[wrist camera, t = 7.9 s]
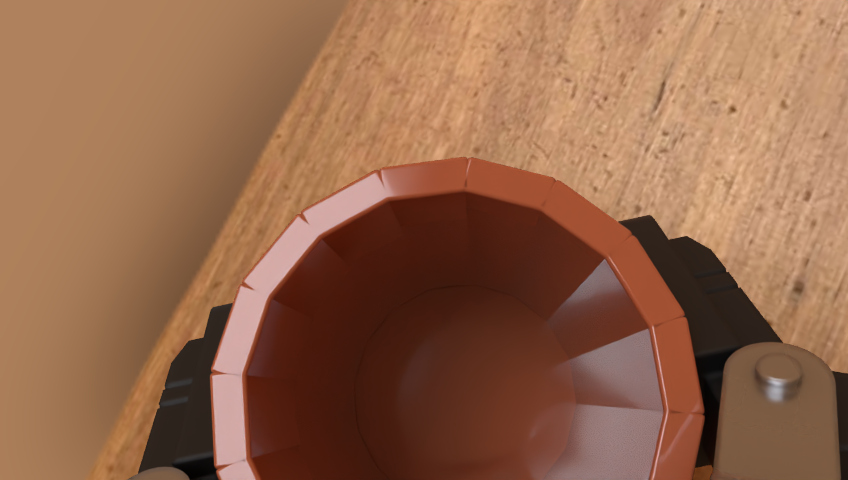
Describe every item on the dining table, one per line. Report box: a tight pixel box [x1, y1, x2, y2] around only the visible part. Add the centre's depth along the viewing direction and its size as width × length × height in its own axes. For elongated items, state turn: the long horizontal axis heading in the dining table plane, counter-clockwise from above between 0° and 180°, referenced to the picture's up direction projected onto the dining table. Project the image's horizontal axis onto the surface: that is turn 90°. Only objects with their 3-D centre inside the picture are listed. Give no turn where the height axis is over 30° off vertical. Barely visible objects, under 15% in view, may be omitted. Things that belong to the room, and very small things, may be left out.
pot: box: [210, 157, 705, 480], centre depth 14 cm, size 6×6×9 cm
